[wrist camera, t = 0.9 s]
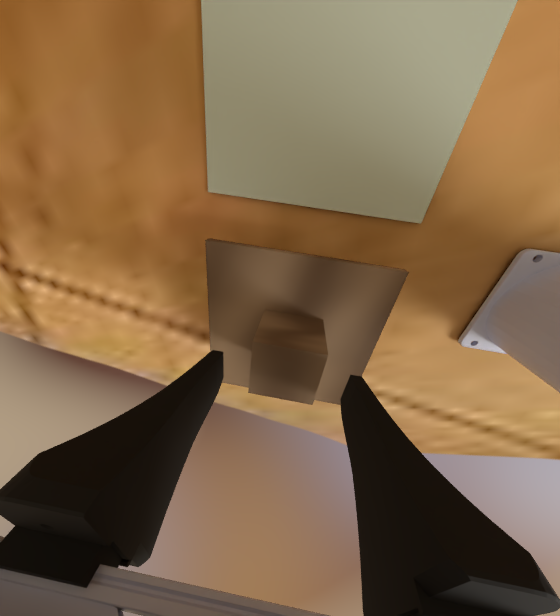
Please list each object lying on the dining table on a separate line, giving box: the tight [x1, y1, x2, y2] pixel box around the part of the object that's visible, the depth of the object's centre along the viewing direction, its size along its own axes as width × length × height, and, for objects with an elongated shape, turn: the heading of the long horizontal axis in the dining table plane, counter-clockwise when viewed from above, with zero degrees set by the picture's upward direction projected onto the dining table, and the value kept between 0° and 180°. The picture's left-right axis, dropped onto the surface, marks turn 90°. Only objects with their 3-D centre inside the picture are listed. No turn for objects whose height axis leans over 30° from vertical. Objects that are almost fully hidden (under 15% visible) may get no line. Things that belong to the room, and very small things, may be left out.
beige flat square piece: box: [201, 0, 518, 224], centre depth 10 cm, size 14×15×1 cm
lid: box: [205, 239, 409, 405], centre depth 13 cm, size 12×12×4 cm
